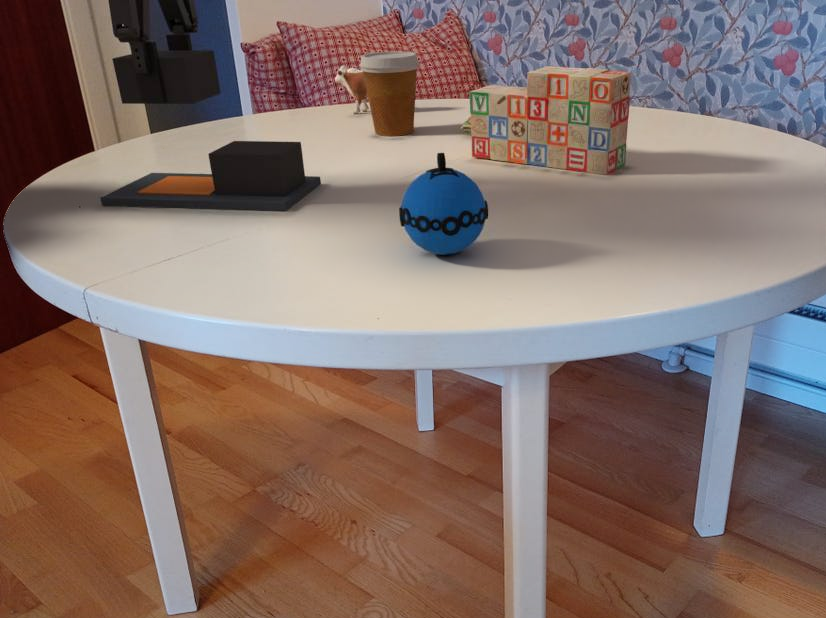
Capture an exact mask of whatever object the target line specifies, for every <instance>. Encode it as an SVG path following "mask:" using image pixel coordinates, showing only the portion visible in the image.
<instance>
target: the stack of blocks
mask: <svg viewBox="0 0 826 618" xmlns="http://www.w3.org/2000/svg"><path fill="white" fill-rule="evenodd" d="M526 74H527V75H526V86H525V87H524V86H512V85H510V86H509V85H501V84H500V85H499V84H489V85H485V86H483V87H480V88H477V89H474V90H470V91H469V113H470V117H471V134H470V135H471V157H472V158H478V159H479V158H480V159H488V160H489V159H490V160H491V161H500V162H509V163H516V164H523V165H532V166H537V167H539V166H540V167H547V168H554V169H561V170H569V171H576V172H582V173H589V174H596V175H604V176H608V175H610V174H612V173H613V172H615V171H617V170H618V169H620V168H622V167H623V166H625V165H626V160H627V159H626V158H627V141H628V140H627V138H628V126H629V115H630V102H631V96H630V95H631V81H632V72H631V71H619V70H609V68H597V67H587V68H582V67H564V66H549V65H547V66H544V67H541V68H537V69H535V70H531V71H527V73H526Z"/></svg>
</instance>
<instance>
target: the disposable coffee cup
mask: <svg viewBox="0 0 826 618" xmlns="http://www.w3.org/2000/svg"><path fill="white" fill-rule="evenodd" d="M419 65H420V61H419V60H418V58H417V53H416V52H412V51H401V50H400V51H395V50H393V51H379V52H370V53H365V54H362V55H361V57H360V63H359V64H358V66H359V67H360V70H362V71H363V75H364V79H365V84H366V89H367V94H368V97H367V100H368V103H369V104H368V105H369V109H370V114H371V119H372V124H373V128H374V133H375V135H379V136H384V137H397V136H406V135H410V134H412V133H414V130H415V129H414V127H415V110H416V94H417V93H416V92H417V75H418V69H419Z"/></svg>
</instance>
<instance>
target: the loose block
mask: <svg viewBox="0 0 826 618" xmlns="http://www.w3.org/2000/svg"><path fill="white" fill-rule="evenodd" d="M214 51H215V50H213V49H203V50H202V49H201V50H200V49H199V50H198V49H196V50H195V49H194V50H193V49H192V50H180V51H169V50H157V52H158V57H159V63H160V68H161V73H162V78H163V83H164V88H165V93H166V98H167V102H165V103H142V98H141V93H140V88H139V84H138V79H137V74H136V70H135V67H134V63H133V58H132V53H130V54H126V55H121V56H117V57H113V58H112V59H111V60H112V64H113V69H114V73H115V78H116V82H117V86H118V91H119V95H120V100H121V104H123V105H125V104H126V105H130V104H131V105H135V104H136V105H194V104H196V103H199V102H202V101H204V100H208V99H209V98H210V99H211V98H213V97H215V96H218V95H221V93H222V92H221V87H220V80H219V74H218V69H217V63H216V58H215V52H214Z"/></svg>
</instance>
